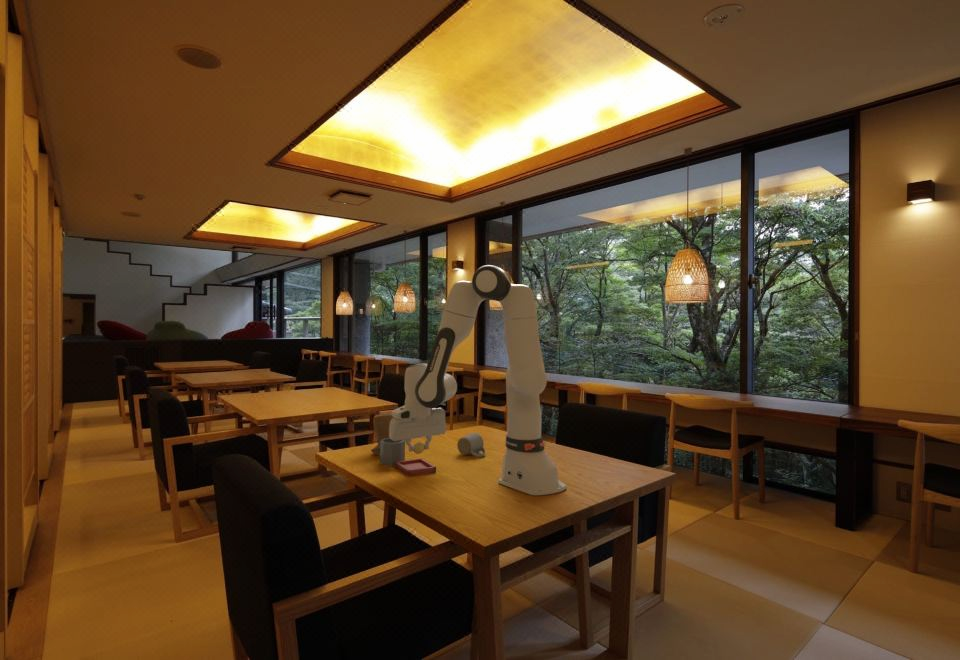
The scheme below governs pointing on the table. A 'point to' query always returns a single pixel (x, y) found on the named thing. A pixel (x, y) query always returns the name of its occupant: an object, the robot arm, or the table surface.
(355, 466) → the table surface
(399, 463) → the lacquer tray
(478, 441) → the ceramic mug
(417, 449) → the ball
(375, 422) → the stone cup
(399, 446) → the deep cup
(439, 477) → the table surface
